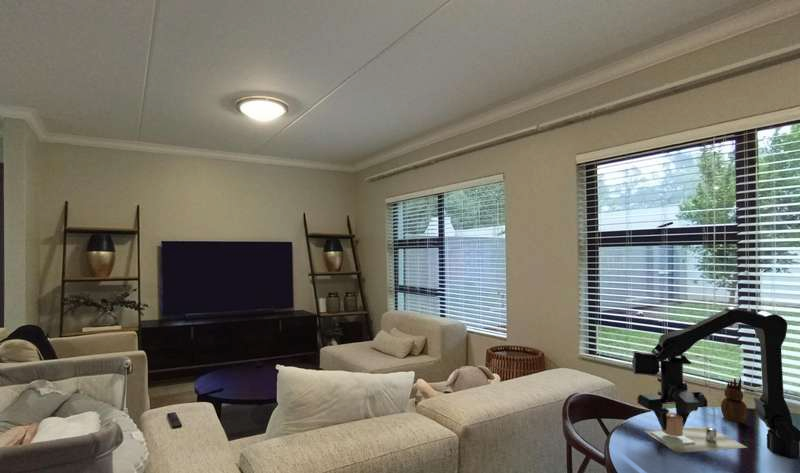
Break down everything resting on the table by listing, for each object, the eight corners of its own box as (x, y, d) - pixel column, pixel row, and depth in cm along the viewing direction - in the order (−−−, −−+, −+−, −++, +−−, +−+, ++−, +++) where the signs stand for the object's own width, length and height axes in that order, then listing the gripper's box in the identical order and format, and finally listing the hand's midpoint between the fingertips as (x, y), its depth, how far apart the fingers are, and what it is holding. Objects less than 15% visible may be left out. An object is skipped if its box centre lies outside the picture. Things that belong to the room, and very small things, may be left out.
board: (747, 451, 126) (747, 447, 126) (676, 456, 123) (676, 452, 123) (708, 429, 139) (707, 426, 139) (643, 434, 137) (643, 430, 137)
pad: (695, 443, 128) (695, 442, 128) (669, 445, 127) (669, 443, 127) (674, 431, 136) (674, 430, 136) (650, 433, 135) (650, 431, 135)
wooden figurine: (751, 424, 143) (750, 378, 143) (739, 427, 141) (739, 380, 141) (728, 416, 149) (728, 372, 149) (717, 419, 147) (717, 374, 147)
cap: (674, 428, 134) (674, 411, 134) (687, 435, 129) (686, 418, 129) (658, 428, 134) (658, 412, 134) (670, 436, 129) (670, 419, 129)
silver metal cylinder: (718, 442, 129) (718, 430, 129) (710, 443, 128) (710, 431, 128) (711, 438, 131) (711, 427, 131) (703, 439, 131) (703, 427, 131)
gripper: (662, 387, 122) (662, 443, 122) (722, 384, 125) (723, 439, 125) (636, 375, 134) (636, 426, 133) (692, 372, 136) (693, 423, 136)
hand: (672, 429), depth 132 cm, fingers closed on cap, 5 cm apart
